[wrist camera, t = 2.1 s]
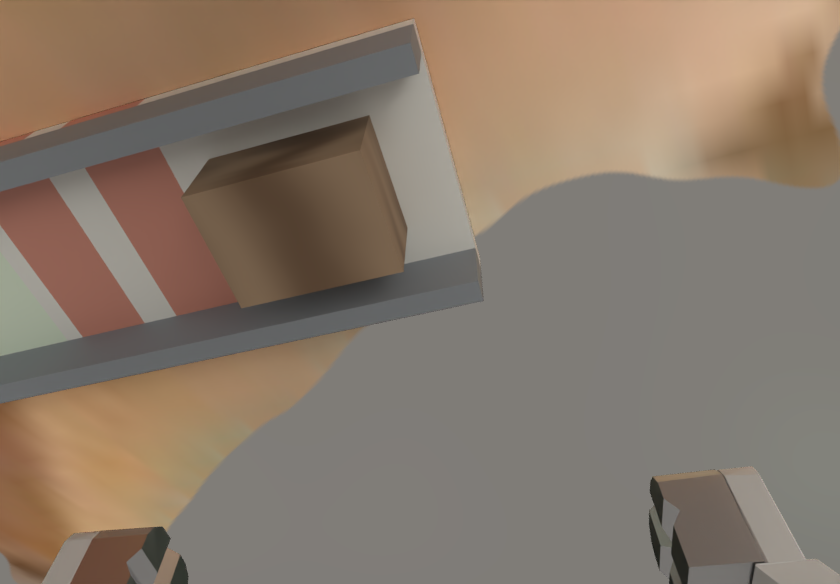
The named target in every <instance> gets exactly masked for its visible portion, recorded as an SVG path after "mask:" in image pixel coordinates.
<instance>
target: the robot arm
mask: <svg viewBox="0 0 840 584" xmlns="http://www.w3.org/2000/svg"><path fill="white" fill-rule="evenodd" d="M650 494H651V497H652V500H653V503H654V506H653V507H652V508H651V509H650V510H649V528H650V535H651V542H652V546H653V550H654V554H655V557H656V561H657V564H658V567H659V570H660V571H661V572H662V573H663V574H664V575H665V576H666V577H668V578H669V584H840V575H839V574H837V573H835V572H834V571H833V570H832V569H830V568H829V567H827V566H826V565H825V564H823V563H822V562H820V561H819V560H818V559H805V557H804V555H803V553H802V551H801V549H800V548H799V546H798V544H797V542H796V540H795V539H794V537H793V535H792V533H791V531H790V529H789V528H788V526H787V524H786V522H785V521H784V518H783V517H782V515H781V513H780V511H779V509H778V508H777V506H776V504H775V502H774V500H773V499H772V496H771V495H770V493H769V491H768V489H767V487H766V486H765V484H764V482H763V480H762V478H761V476H760V475H759V473H758V471H757V470H755V469H754V468H753V467H741V468H731V469H721V470H705V471H696V472H687V473H680V474H679V473H678V474H670V475H661V476H653V477H652V479H651V482H650ZM169 542H170V537H169V535H168V534H167V532H166V531H165V529H164V528H163V527H148V528H134V529H120V530H106V531H94V532H83V533H74V534H73V535H72V536H70V537H69V538H68V539H67V540H66V541H65V542H64V544H63V545H62V547H61V549H60V551H59V553H58V555H57V556H56V558H55V560H54V562H53V564H52V566H51V567H50V569H49V571H48V573H47V575H46V577H45V578H44V580H43V582H42V584H188V572H187V568H186V564H185V562H184V560H183V559H182V557H181V555H180V554H178V553H176V552H175V551H173V550H171V549H169V548H167V547H168V544H169Z"/></svg>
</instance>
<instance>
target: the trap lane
mask: <svg viewBox="0 0 840 584" xmlns="http://www.w3.org/2000/svg"><path fill="white" fill-rule="evenodd" d="M368 115H370V118H371V121H372V124H373V127H374V130H375V133H376V136H377V139H378V142H379V145H380V148H381V151H382V154H383V157H384V160H385V163H386V166H387V169H388V172H389V175H390V178H391V180H392V183H393V186H394V189H395V192H396V195H397V198H398V201H399V204H400V207H401V210H402V213H403V216H404V219H405V222H406V225H407V228H408V229H407V240H406V251H405V262H404V272H401V273H396V274H392V275H387V276H383V277H378V278H374V279H370V280H365V281H361V282H356V283H352V284H347V285H343V286H339V287H334V288H330V289H325V290H321V291H316V292H312V293H308V294H303V295H299V296H294V297H290V298H285V299H281V300H276V301H272V302H268V303H263V304H259V305H254V306H250V307H245V308H241V307H240V305H239V303H238V301H237V299H236V298H235V296H234V294H233V292H232V290H231V288H230V287H229V285H228V283H227V281H226V279H225V277H224V276H223V274H222V272H221V270H220V268H219V266H218V265H217V263H216V261H215V259H214V257H213V255H212V254H211V252H210V250H209V248H208V246H207V244H206V243H205V241H204V239H203V237H202V235H201V233H200V232H199V230H198V228H197V226H196V224H195V222H194V221H193V219H192V217H191V215H190V213H189V211H188V210H187V208H186V206H185V204H184V202H183V200H182V199H181V197H182V195H183V194H184V193H185V191H186V190H187V188H188V187H189V186H190V184H191V183H192V182H193V180H194V179H195V178H196V176H197V175H198V173H199V172H200V171H201V169H202V168H203V167H204V165H205V164H206V162H207V161H208V160H209V159H211V158H215V157H218V156H222V155H226V154H229V153H233V152H237V151H240V150H244V149H248V148H251V147H255V146H259V145H262V144H266V143H269V142H273V141H277V140H280V139H284V138H288V137H291V136H295V135H299V134H302V133H306V132H310V131H313V130H317V129H321V128H324V127H328V126H332V125H335V124H339V123H343V122H346V121H350V120H353V119H357V118H361V117H364V116H368ZM481 301H484V299H483V288H482V276H481V266H480V256H479V252H478V249H477V245H476V241H475V238H474V234H473V230H472V227H471V223H470V219H469V216H468V212H467V208H466V205H465V201H464V198H463V194H462V190H461V187H460V183H459V179H458V176H457V172H456V168H455V165H454V161H453V157H452V154H451V150H450V147H449V143H448V139H447V136H446V132H445V128H444V125H443V121H442V117H441V114H440V110H439V107H438V103H437V99H436V96H435V92H434V88H433V85H432V81H431V77H430V74H429V70H428V67H427V63H426V59H425V56H424V52H423V48H422V45H421V41H420V37H419V34H418V30H417V27H416V23H415V19H410V20H407V21H403V22H400V23H397V24H393V25H390V26H387V27H383V28H380V29H377V30H373V31H370V32H367V33H363V34H360V35H357V36H353V37H350V38H346V39H343V40H340V41H336V42H333V43H330V44H326V45H323V46H320V47H316V48H313V49H310V50H306V51H303V52H300V53H296V54H293V55H290V56H286V57H283V58H279V59H276V60H273V61H269V62H266V63H263V64H259V65H256V66H253V67H249V68H246V69H243V70H239V71H236V72H233V73H229V74H226V75H222V76H219V77H216V78H212V79H209V80H206V81H202V82H199V83H196V84H192V85H189V86H186V87H182V88H179V89H176V90H172V91H169V92H166V93H162V94H159V95H155V96H152V97H149V98H145V99H142V100H139V101H135V102H132V103H129V104H125V105H122V106H119V107H115V108H112V109H109V110H105V111H102V112H99V113H95V114H92V115H88V116H85V117H82V118H78V119H75V120H72V121H68V122H65V123H62V124H58V125H55V126H52V127H48V128H45V129H42V130H38V131H35V132H31V133H28V134H25V135H21V136H18V137H15V138H11V139H8V140H5V141H1V142H0V403H5V402H9V401H14V400H19V399H24V398H28V397H33V396H38V395H42V394H47V393H52V392H57V391H61V390H66V389H71V388H75V387H80V386H85V385H90V384H94V383H99V382H104V381H108V380H113V379H118V378H123V377H127V376H132V375H137V374H141V373H146V372H151V371H156V370H160V369H165V368H170V367H174V366H179V365H184V364H189V363H193V362H198V361H203V360H207V359H212V358H217V357H222V356H226V355H231V354H236V353H240V352H245V351H250V350H255V349H259V348H264V347H269V346H273V345H278V344H283V343H288V342H292V341H297V340H302V339H306V338H311V337H316V336H320V335H325V334H330V333H335V332H339V331H344V330H349V329H353V328H358V327H363V326H368V325H372V324H377V323H382V322H386V321H391V320H396V319H400V318H405V317H410V316H415V315H419V314H424V313H429V312H434V311H438V310H443V309H448V308H452V307H457V306H462V305H466V304H471V303H476V302H481Z"/></svg>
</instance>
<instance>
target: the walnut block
mask: <svg viewBox="0 0 840 584" xmlns="http://www.w3.org/2000/svg"><path fill="white" fill-rule="evenodd" d="M181 199H182V200H183V202H184V204H185V206H186V208H187V210H188V211H189V213H190V215H191V217H192V219H193V221H194V222H195V224H196V226H197V228H198V230H199V232H200V233H201V235H202V237H203V239H204V241H205V243H206V244H207V246H208V248H209V250H210V252H211V254H212V255H213V257H214V259H215V261H216V263H217V265H218V266H219V268H220V270H221V272H222V274H223V276H224V277H225V279H226V281H227V283H228V285H229V287H230V288H231V290H232V292H233V294H234V296H235V298H236V299H237V301H238V303H239V305H240V307H241V308H245V307H250V306H254V305H259V304H263V303H268V302H272V301H276V300H281V299H285V298H290V297H294V296H299V295H303V294H308V293H312V292H316V291H321V290H325V289H330V288H334V287H339V286H343V285H347V284H352V283H356V282H361V281H365V280H370V279H374V278H378V277H383V276H387V275H392V274H396V273H401V272H404V262H405V251H406V240H407V229H408V228H407V225H406V222H405V219H404V216H403V213H402V210H401V207H400V204H399V201H398V198H397V195H396V192H395V189H394V186H393V183H392V180H391V178H390V175H389V172H388V169H387V166H386V163H385V160H384V157H383V154H382V151H381V148H380V145H379V142H378V139H377V136H376V133H375V130H374V127H373V124H372V121H371V118H370V115H368V116H364V117H361V118H357V119H353V120H350V121H346V122H343V123H339V124H335V125H332V126H328V127H324V128H321V129H317V130H313V131H310V132H306V133H302V134H299V135H295V136H291V137H288V138H284V139H280V140H277V141H273V142H269V143H266V144H262V145H259V146H255V147H251V148H248V149H244V150H240V151H237V152H233V153H229V154H226V155H222V156H218V157H215V158H211V159H209V160H208V161H207V162H206V164H205V165H204V167H203V168H202V169H201V171H200V172H199V173H198V175H197V176H196V178H195V179H194V180H193V182H192V183H191V184H190V186H189V187H188V188H187V190H186V191H185V193H184V194H183V195H182V197H181Z"/></svg>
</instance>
